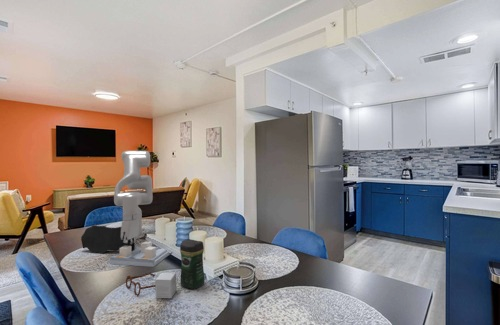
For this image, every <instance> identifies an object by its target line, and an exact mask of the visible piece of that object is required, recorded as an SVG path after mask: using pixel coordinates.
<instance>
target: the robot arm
mask: <svg viewBox="0 0 500 325" xmlns="http://www.w3.org/2000/svg"><path fill="white" fill-rule="evenodd" d="M120 157H121V160H122V163H123V168H124V170H123V177H122V178H121V179H120V180H118V182H117V183H116V185H115V188H114V194H113V202H114V205H115V206H117V207H122V221H121V225H120V227H121V239H122V240H123V239H124V241H123V243H127V246H131V251H134V250H135V246H136V245H135V243H136V240H139V239H141V238H144V237H145V233H143V232H145V231H146V228H145V227H143V221H142V220H143V217H142V216H143V215H142V213H143V211H142V209H141V208H140V207H139V205H140V206H141V205H143V206H144V205H150V204H152V203H153V198H154V196H153V179H152V177H151V175H148V174H147V175H145V174H143V175H141V168H149V167H150V166H151V154H150V151H148V150H124V151H122V153H121V156H120ZM125 186H126V187H127V188H128V189H129V190H133V191H127V192H121V190H122V188H124V187H125Z"/></svg>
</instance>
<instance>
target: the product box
mask: <svg viewBox="0 0 500 325" xmlns="http://www.w3.org/2000/svg"><path fill="white" fill-rule="evenodd" d="M154 283H155V285H156V287H155V299H156V298H171V299H172V298H173V297H174V295H175V293H176V291H177V273H176V272H161V273H160V274H159V275H158V276H157V277H156V279H155V282H154Z"/></svg>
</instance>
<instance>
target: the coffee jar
mask: <svg viewBox="0 0 500 325" xmlns="http://www.w3.org/2000/svg"><path fill="white" fill-rule="evenodd" d="M204 251H205V247H204V242H203V241H201V240H197V239H196V240H195V239H190V238H187V239H184V240H181V242H180V247H179V252H180V258H181V261H180V262H181V263H180V264H181V265H180V267H181V268H180V285H181V286H182V287H183V288H187V289H191V290H195V289H199V288H201V287H202V286H203V285H204V284H205V272H204V262H203V261H204V257H203V254H204Z"/></svg>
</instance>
